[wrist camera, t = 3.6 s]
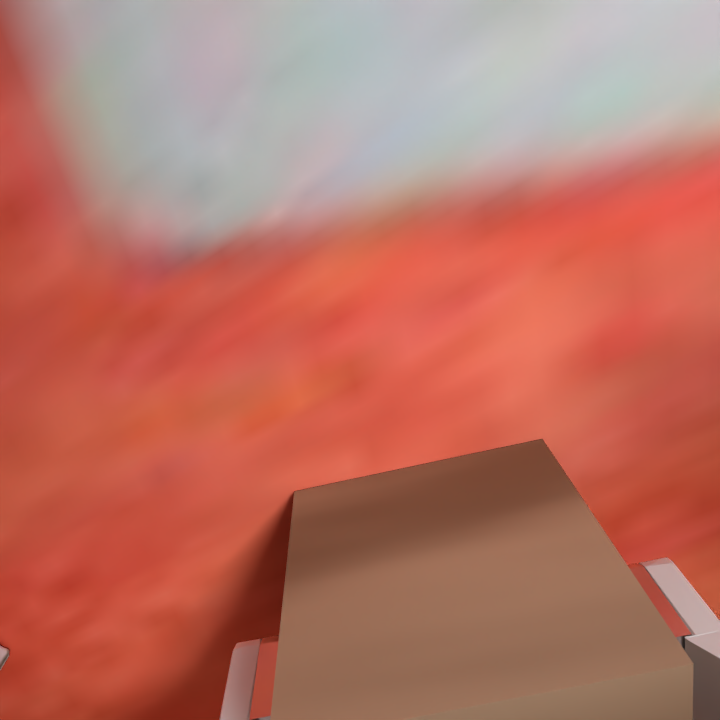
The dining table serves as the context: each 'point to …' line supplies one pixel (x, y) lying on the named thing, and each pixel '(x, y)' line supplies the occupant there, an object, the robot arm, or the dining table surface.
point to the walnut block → (468, 602)
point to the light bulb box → (3, 656)
